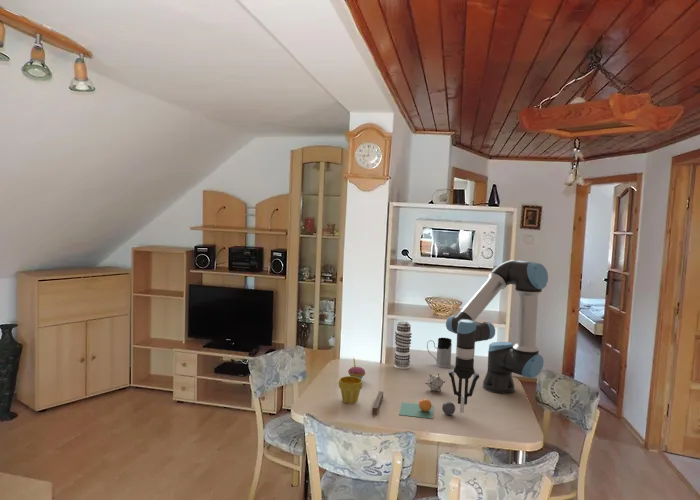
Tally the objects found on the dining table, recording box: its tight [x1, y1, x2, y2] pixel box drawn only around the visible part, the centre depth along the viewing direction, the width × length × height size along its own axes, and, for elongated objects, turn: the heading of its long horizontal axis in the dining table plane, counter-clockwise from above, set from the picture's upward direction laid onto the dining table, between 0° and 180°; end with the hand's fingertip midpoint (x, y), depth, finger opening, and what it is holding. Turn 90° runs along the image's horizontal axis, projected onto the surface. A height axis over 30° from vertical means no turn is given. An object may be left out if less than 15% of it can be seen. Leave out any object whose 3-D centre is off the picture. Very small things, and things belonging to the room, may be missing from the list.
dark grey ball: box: [441, 401, 456, 416], centre depth 209 cm, size 6×6×6 cm
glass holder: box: [426, 337, 453, 369], centre depth 279 cm, size 9×14×15 cm, turn 80°
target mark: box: [398, 401, 435, 420], centre depth 212 cm, size 14×14×1 cm
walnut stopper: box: [371, 390, 384, 416], centre depth 215 cm, size 2×20×3 cm, turn 169°
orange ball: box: [418, 398, 433, 412], centre depth 211 cm, size 6×6×6 cm
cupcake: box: [347, 358, 366, 380], centre depth 246 cm, size 9×8×12 cm
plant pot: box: [338, 375, 363, 405], centre depth 220 cm, size 10×10×10 cm
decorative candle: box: [394, 320, 413, 370], centre depth 272 cm, size 9×9×25 cm
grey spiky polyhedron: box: [424, 373, 446, 393], centre depth 237 cm, size 9×8×10 cm
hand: (461, 411), depth 208 cm, fingers closed
